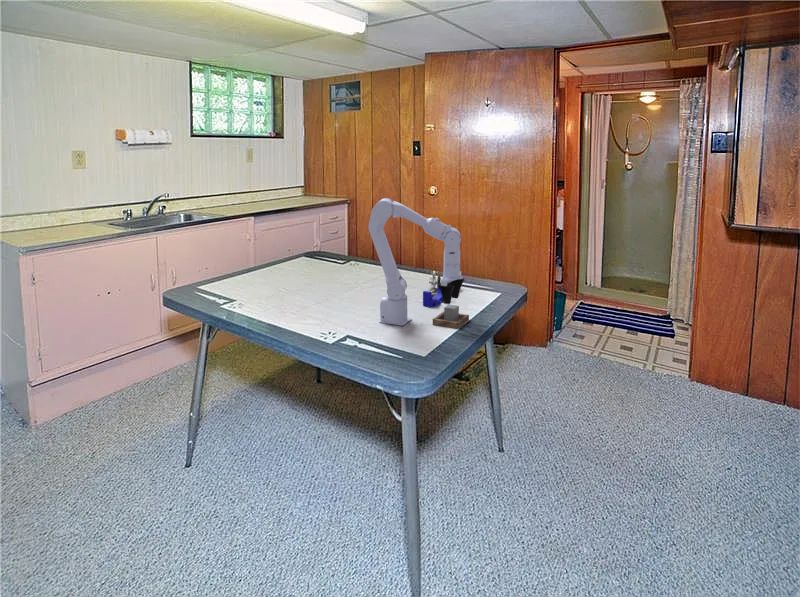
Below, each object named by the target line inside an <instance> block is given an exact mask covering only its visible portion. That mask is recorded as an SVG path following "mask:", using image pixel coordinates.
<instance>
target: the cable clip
mask: <svg viewBox="0 0 800 597" xmlns="http://www.w3.org/2000/svg"><path fill="white" fill-rule="evenodd" d="M435 293H436V295H435V297H432V291H431V292H428V290H423V291H422V306H423V307H426V308H432V309H433V308H435V307H437V306H440V305H441V304H442V302H444V301H443V297H442V293H441V291H440V289H439V287H438V289H437V290H436V292H435Z"/></svg>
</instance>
